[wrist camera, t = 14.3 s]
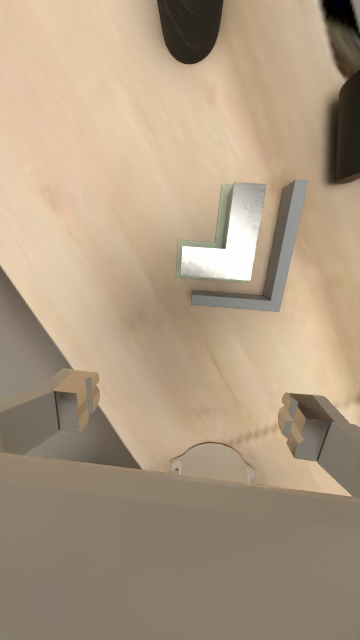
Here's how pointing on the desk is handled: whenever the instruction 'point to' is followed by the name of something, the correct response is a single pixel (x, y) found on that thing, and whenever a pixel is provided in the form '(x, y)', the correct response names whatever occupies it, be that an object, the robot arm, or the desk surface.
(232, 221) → the bracket
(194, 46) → the travel mug
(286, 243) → the corner walls
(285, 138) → the desk surface
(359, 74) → the end cap
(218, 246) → the mat
